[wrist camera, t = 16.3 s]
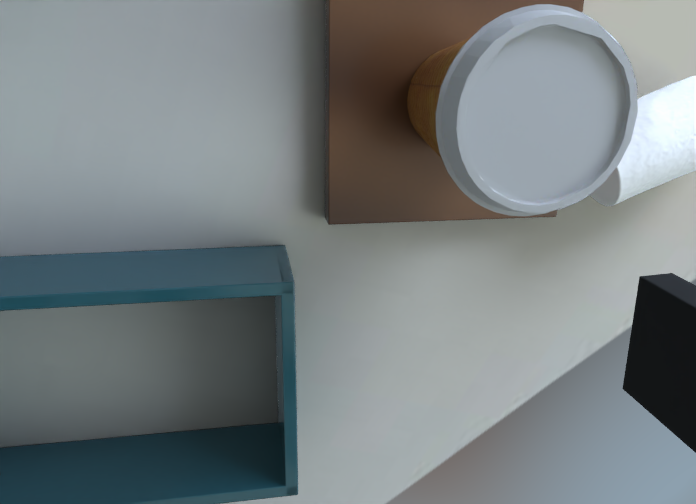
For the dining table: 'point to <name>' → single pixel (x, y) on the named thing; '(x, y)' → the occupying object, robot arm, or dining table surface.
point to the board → (393, 108)
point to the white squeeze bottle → (656, 144)
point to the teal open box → (165, 448)
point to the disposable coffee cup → (528, 109)
